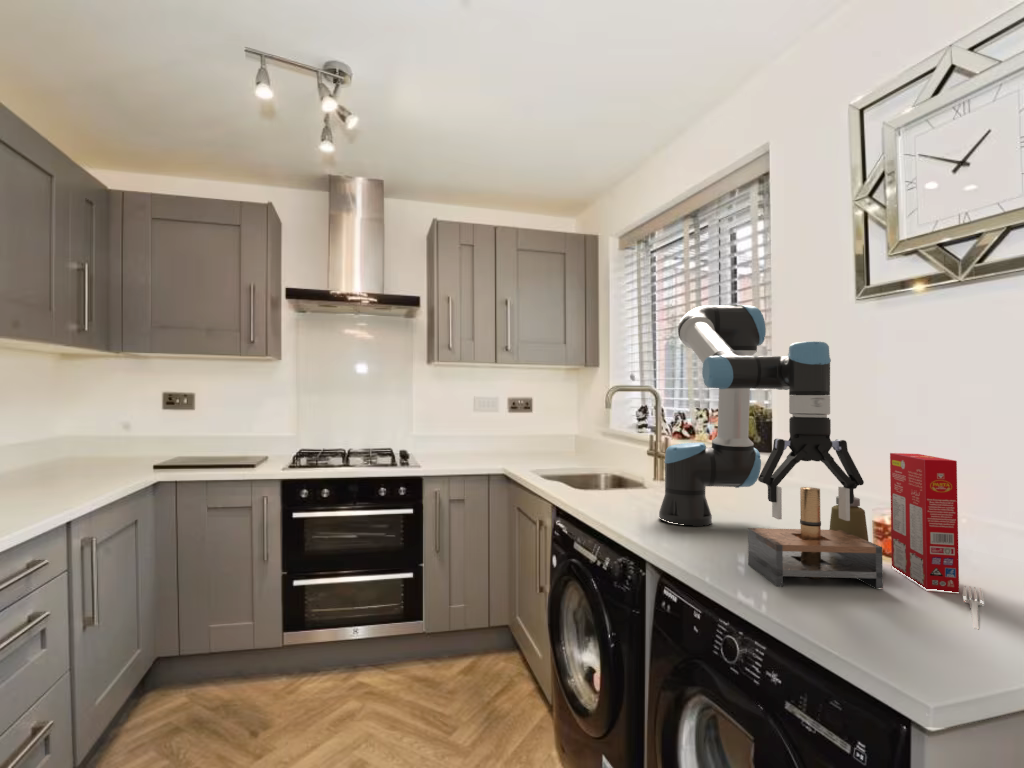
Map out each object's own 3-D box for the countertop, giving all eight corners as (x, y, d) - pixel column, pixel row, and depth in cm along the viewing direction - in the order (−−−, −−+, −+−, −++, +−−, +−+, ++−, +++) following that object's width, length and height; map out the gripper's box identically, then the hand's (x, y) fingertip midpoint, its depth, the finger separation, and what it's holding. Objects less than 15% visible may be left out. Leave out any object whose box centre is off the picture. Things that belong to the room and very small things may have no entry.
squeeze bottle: (832, 564, 119) (831, 482, 120) (824, 554, 127) (823, 478, 127) (874, 568, 116) (873, 485, 117) (864, 558, 124) (863, 480, 124)
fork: (963, 631, 86) (962, 619, 86) (961, 594, 101) (961, 584, 101) (990, 637, 84) (989, 625, 84) (984, 598, 99) (984, 588, 99)
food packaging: (959, 593, 101) (956, 460, 102) (927, 591, 102) (924, 459, 103) (919, 570, 115) (917, 453, 116) (891, 568, 117) (889, 453, 117)
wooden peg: (797, 573, 113) (796, 486, 113) (815, 573, 112) (814, 487, 113) (806, 578, 109) (805, 489, 109) (825, 579, 109) (824, 490, 109)
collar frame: (748, 564, 118) (748, 528, 118) (841, 566, 117) (841, 530, 117) (776, 586, 104) (776, 544, 104) (882, 589, 103) (882, 547, 103)
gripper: (755, 415, 109) (756, 521, 108) (882, 417, 107) (884, 524, 107) (741, 415, 116) (742, 513, 115) (860, 416, 115) (861, 516, 114)
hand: (810, 518), depth 111 cm, fingers open, 13 cm apart
